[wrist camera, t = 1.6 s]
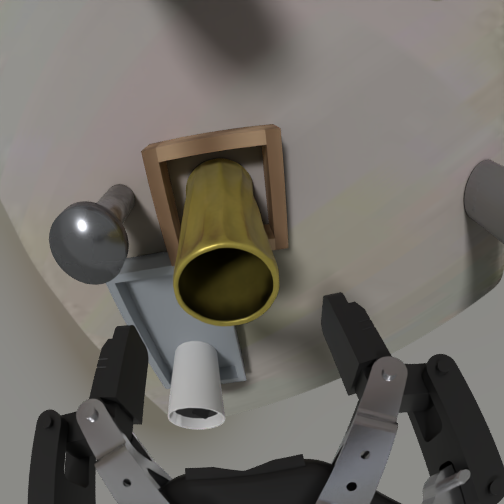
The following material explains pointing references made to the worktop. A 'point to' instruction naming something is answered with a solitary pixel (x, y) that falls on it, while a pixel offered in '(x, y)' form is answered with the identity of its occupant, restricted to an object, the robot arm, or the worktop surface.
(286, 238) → the holder
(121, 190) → the knob post
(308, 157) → the worktop surface
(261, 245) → the vase
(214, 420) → the white cup
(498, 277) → the worktop surface
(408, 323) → the worktop surface
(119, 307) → the tray
